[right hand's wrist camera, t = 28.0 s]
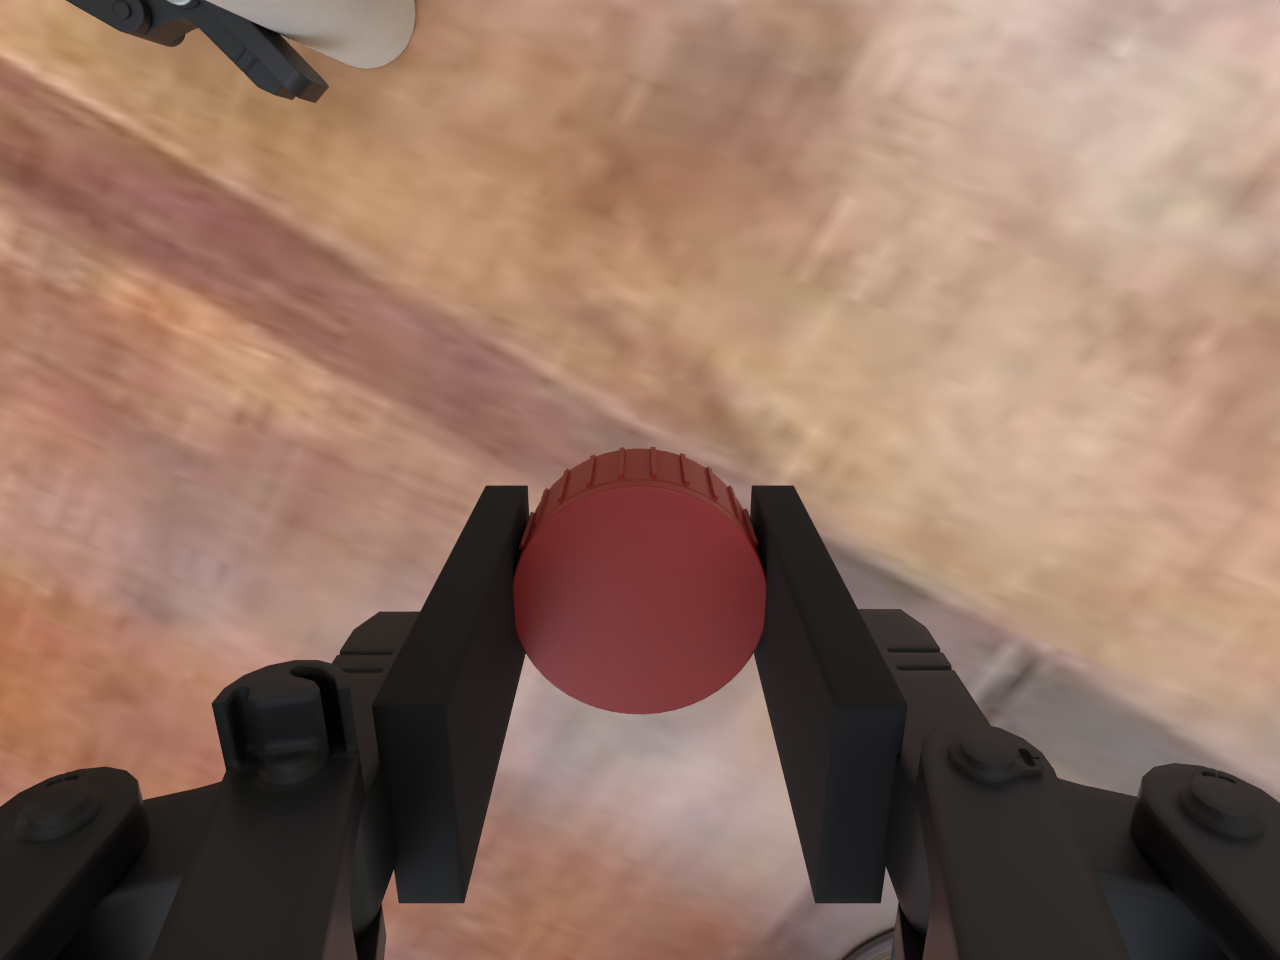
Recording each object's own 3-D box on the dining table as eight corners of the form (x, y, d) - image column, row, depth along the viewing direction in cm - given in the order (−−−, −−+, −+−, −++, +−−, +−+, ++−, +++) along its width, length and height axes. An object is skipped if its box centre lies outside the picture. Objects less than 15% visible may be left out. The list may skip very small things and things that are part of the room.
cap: (684, 688, 16) (690, 754, 14) (485, 598, 15) (464, 655, 13) (799, 510, 14) (822, 557, 12) (587, 403, 14) (579, 435, 12)
